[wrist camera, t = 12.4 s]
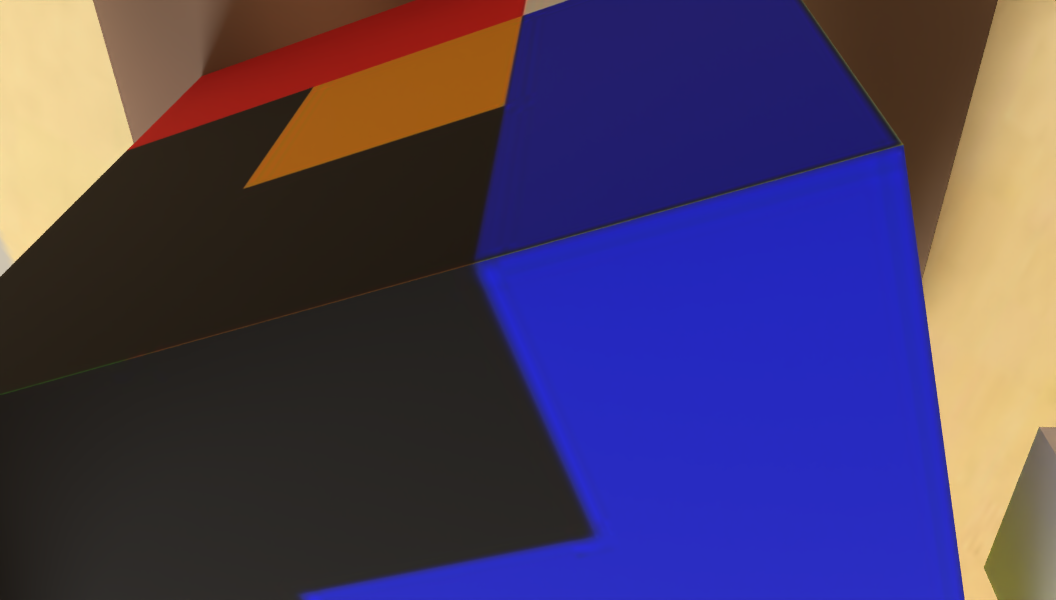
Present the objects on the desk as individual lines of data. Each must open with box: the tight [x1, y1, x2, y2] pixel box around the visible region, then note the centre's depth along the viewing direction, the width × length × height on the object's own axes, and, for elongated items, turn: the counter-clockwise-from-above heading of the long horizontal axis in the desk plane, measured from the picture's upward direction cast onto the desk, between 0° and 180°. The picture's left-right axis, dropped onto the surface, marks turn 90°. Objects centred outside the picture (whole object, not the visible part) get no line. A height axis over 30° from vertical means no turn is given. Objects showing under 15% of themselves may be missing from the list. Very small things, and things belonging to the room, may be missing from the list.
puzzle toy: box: [0, 0, 965, 600], centre depth 14 cm, size 10×10×10 cm
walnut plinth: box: [93, 0, 998, 279], centre depth 20 cm, size 16×16×4 cm
